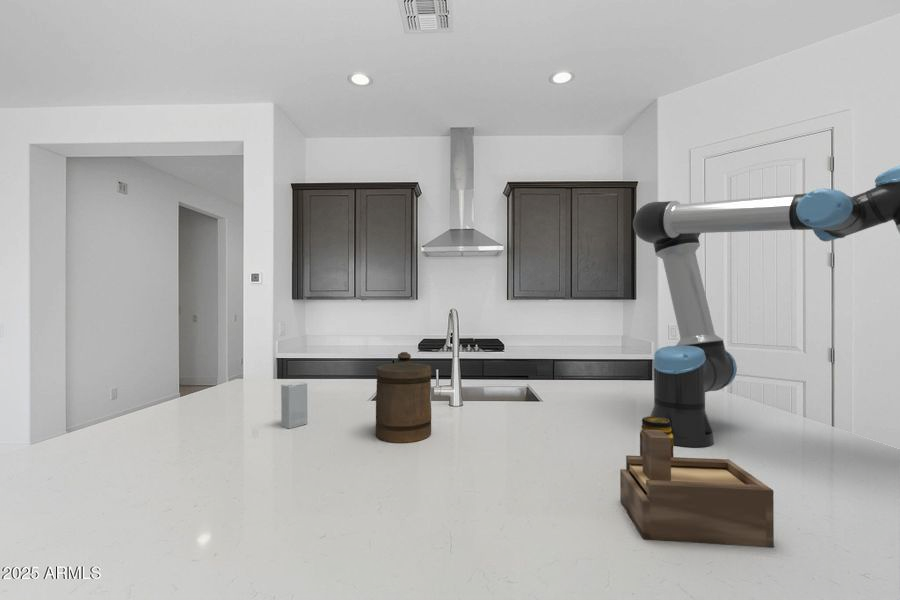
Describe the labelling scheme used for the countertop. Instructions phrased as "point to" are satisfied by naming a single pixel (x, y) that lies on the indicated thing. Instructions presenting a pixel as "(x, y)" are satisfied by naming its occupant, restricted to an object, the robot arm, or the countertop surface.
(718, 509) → the walnut box
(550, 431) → the countertop surface
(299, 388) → the skincare box
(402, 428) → the wooden container
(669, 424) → the condiment
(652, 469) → the cover plate
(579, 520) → the countertop surface
